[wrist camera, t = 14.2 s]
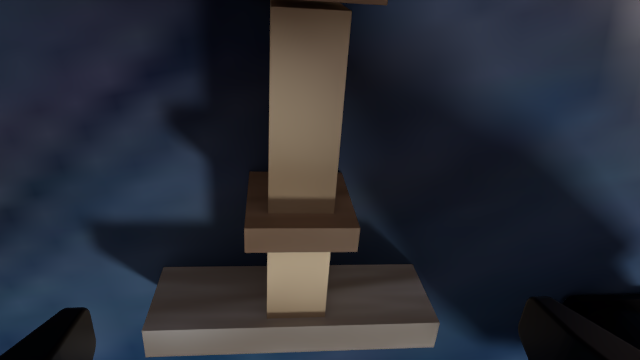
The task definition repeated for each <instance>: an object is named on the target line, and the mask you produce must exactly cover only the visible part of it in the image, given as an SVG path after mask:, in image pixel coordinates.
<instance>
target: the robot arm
mask: <svg viewBox="0 0 640 360" xmlns="http://www.w3.org/2000/svg"><path fill="white" fill-rule="evenodd" d="M518 332H519V337H520V339H521V342H522V344H523V347H524V349H525V352H526V355H527V357H528V360H640V294H630V295H585V296H571V297H568V298H567V299H566V300H565V301H564V302H563V304H561V303H559V302H558V301H556V300H554V299H553V298H551V297H548V296H533V297H530V298H529V299H528V300H527V302H526V304H525V307H524V310H523V313H522V316H521V319H520V322H519V325H518ZM95 347H96V338H95V334H94V329H93V324H92V320H91V315H90V312H89V310H88V309H87V308H84V307H77V308H64V309H62V310H61V311H59V312H58V313H57V314H55V315H54V316H53V317H51V318H50V319H49V320H47V321H46V322H45V323H43V324H42V325H41V326H39V327H38V328H37V329H35V330H34V331H33V332H31V333H30V334H29V335H27V336H26V337H25V338H23V339H22V340H21V341H19V342H18V343H17V344H16V345H14V346H13V347H12V348H10V349H9V350H8V351H6V352H5V353H4V354H2V355H1V356H0V360H93V356H94V352H95Z"/></svg>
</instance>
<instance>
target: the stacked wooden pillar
mask: <svg viewBox="0 0 640 360" xmlns="http://www.w3.org/2000/svg"><path fill="white" fill-rule="evenodd" d="M341 3H356V4H373V5H387V3H388V0H270V73H269V151H268V172H251V171H249V182H248V193H247V204H246V215H245V226H244V245H245V253H267V266H216V267H163V270H162V273H161V276H160V279H159V282H158V285H157V288H156V291H155V294H154V297H153V300H152V303H151V306H150V308H149V311H148V314H147V317H146V320H145V323H144V326H143V329H142V335H143V342H144V348H145V355H146V357H162V356H191V355H220V354H249V353H278V352H307V351H336V350H365V349H394V348H423V347H434V344H435V340H436V336H437V332H438V328H439V323H440V322H439V320H438V318H437V316H436V314H435V312H434V309H433V307H432V305H431V303H430V301H429V299H428V297H427V294H426V292H425V290H424V288H423V286H422V284H421V281H420V279H419V277H418V275H417V273H416V271H415V269H414V266H413V264H386V265H329V264H330V252H357V251H358V243H359V235H360V226H359V223H358V220H357V217H356V214H355V211H354V208H353V205H352V202H351V199H350V196H349V193H348V190H347V187H346V184H345V181H344V178H343V175H342V173H338V162H339V151H340V139H341V128H342V117H343V105H344V94H345V83H346V72H347V60H348V49H349V38H350V26H351V15H352V11H351V10H349V9H348V8H346V7H345V6H343V5H342V4H341Z"/></svg>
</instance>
